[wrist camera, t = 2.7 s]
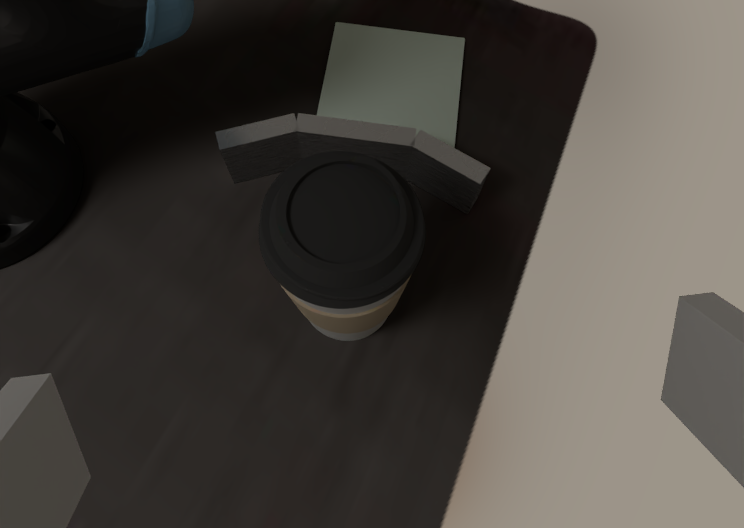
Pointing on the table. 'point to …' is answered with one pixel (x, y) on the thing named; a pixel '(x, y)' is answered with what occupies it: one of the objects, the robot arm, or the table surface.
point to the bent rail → (384, 142)
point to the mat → (394, 79)
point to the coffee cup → (342, 240)
